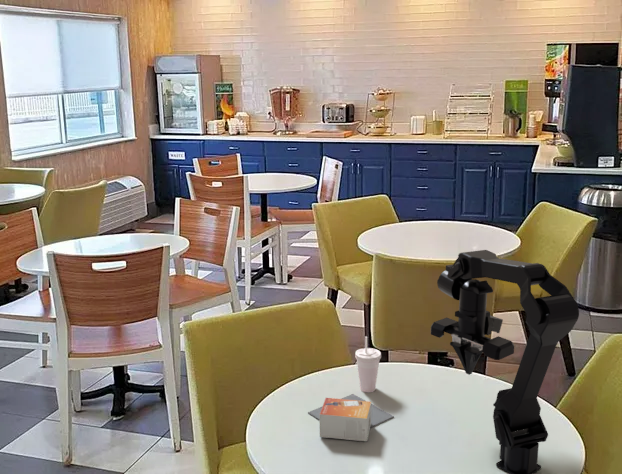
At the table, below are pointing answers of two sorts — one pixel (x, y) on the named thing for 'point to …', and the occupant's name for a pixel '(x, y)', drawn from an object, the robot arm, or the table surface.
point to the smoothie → (367, 367)
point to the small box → (345, 419)
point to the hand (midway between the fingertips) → (469, 373)
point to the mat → (376, 413)
